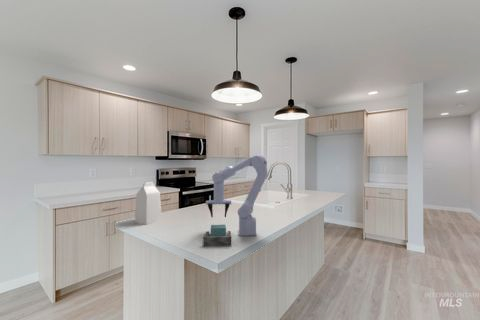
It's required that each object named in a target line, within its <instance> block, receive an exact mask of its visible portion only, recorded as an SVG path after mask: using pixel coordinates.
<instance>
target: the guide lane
mask: <svg viewBox="0 0 480 320" xmlns="http://www.w3.org/2000/svg"><path fill="white" fill-rule="evenodd" d="M209 234H210V231H206V232H205V236H203V238H202V241H203V242H202V247H211V246H212V247H213V246H215V247H217V246H219V247H221V246H222V247H223V246H228V247H229V246H232V233H231V230H227V235H226V236H211V235H209Z"/></svg>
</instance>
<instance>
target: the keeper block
mask: <svg viewBox="0 0 480 320" xmlns="http://www.w3.org/2000/svg"><path fill="white" fill-rule="evenodd" d="M226 226H227V225H226V224H211V225H210V236H227V234H226V233H227V227H226Z"/></svg>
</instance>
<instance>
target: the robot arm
mask: <svg viewBox="0 0 480 320" xmlns="http://www.w3.org/2000/svg"><path fill="white" fill-rule="evenodd" d="M267 165H268V164H267V161H266V158H265V157H264V156H263V155H254V156H252V157H251V156H250V157H248V158H246V159H245V160H243V161H240V162H239V163H238V164H235V165H234V166H231V165H230V166H229V165H227V166H226V167H225V168H224V169H220V170H219V171H218V172H215V173H213V174H212V177H211V179H212V181H213V199H212V200H206V201H205V205H206V206H207V208H208V209H209V212H210V217H211V218H213V212H214V211H213V205H224V217H225V218H227V212H228V210H229V208H230V205H232V200H225V198H224V196H225V194H224V191H225V185H224V182H225V180H228V179H229V178H231V177H234V176H235V175H236V172H238V171H240V170H243V169H245V168H247V167H252V168H254V170H255V172H256V174H257V175H256V177H255V179H254V181H253V184H252V185H251V187H250V190H249V192H248V195H247V196H246V199H245V201H244V202H243V203H242V205H241V206H240V207H239V208H238V209H237V215H238V230H237V233H238V236H239V237H240V236H244V237H245V236H257V219H256V217H253V215H252V214H253V211H254V206H255V201H256V200H257V198H258V196H259V193H260V191H261V189H262V187H263V185H264V182H265V181H266V178H267V176H268V167H267Z"/></svg>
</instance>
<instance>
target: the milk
mask: <svg viewBox="0 0 480 320" xmlns="http://www.w3.org/2000/svg"><path fill="white" fill-rule="evenodd" d="M135 195H136V197H135V213H134V216H135V217H134V223H136V222H137V224H140V225H144V224H145V225H144V226H147V225H151V224H154V223H157V222H161V221H162V220H163V217H162V216H163V215H162V202H161V192H160V191H159V190H158V188H157V187H156V185H155V184H154V181H147V182H143V184H142V187H141V188H140V189H138V191H137V192H136V194H135Z"/></svg>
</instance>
